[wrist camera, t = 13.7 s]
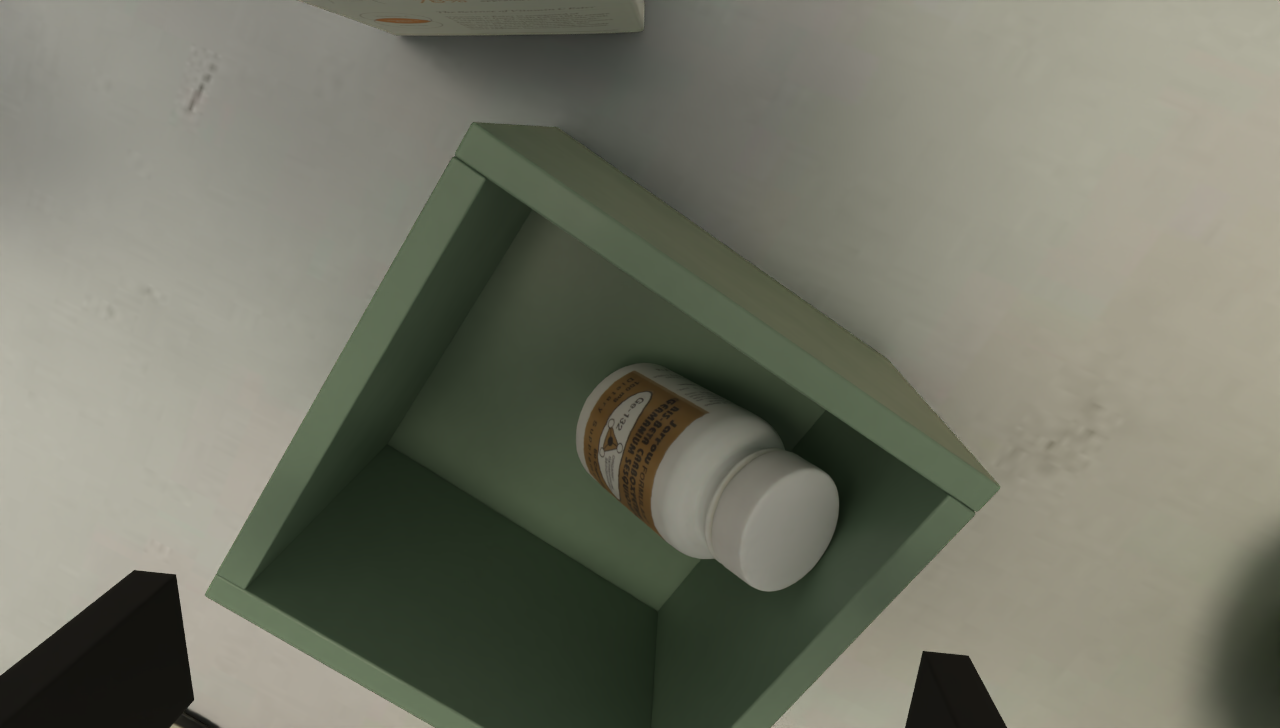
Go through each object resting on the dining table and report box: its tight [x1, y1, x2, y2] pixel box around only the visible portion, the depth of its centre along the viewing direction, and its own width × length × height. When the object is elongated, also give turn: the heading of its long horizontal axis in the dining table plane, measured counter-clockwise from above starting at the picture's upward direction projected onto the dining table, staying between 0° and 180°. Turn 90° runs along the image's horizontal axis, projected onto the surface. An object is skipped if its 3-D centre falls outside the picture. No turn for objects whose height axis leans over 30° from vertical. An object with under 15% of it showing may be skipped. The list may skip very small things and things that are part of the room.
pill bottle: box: [576, 363, 839, 592], centre depth 21 cm, size 4×4×8 cm
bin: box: [205, 122, 1000, 728], centre depth 21 cm, size 14×14×10 cm
